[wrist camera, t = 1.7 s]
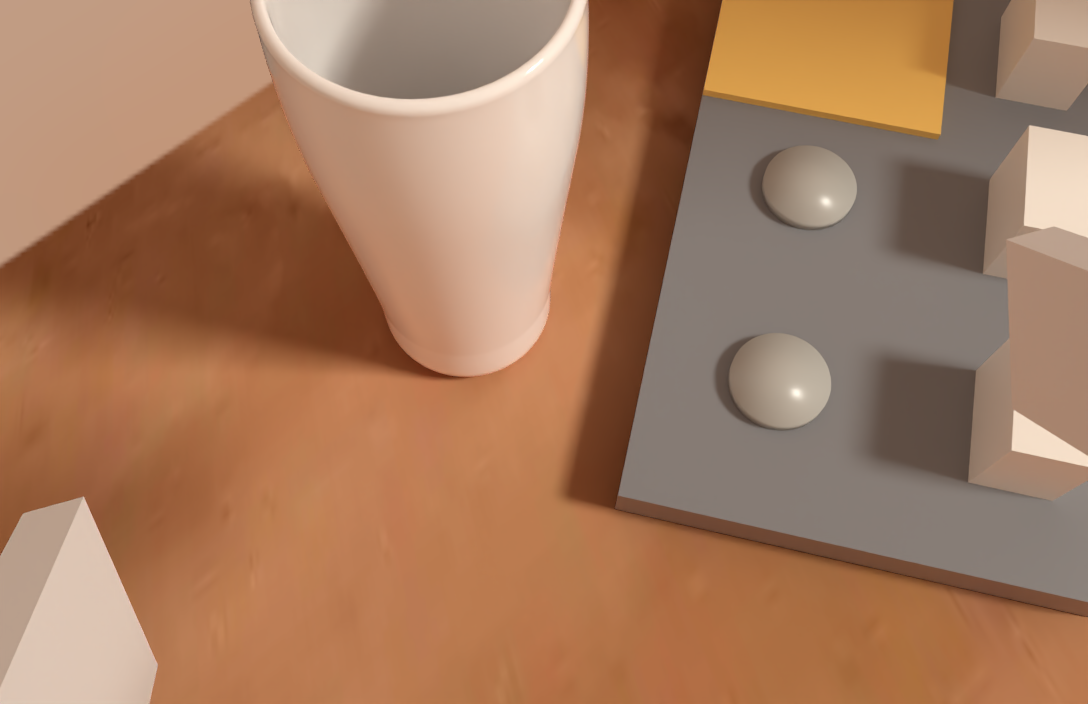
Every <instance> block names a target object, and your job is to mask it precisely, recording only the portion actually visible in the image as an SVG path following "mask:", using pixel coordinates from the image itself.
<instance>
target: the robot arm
mask: <svg viewBox="0 0 1088 704" xmlns="http://www.w3.org/2000/svg"><path fill="white" fill-rule="evenodd" d="M1006 252H1007V282H1008V311H1009V341H1010V371H1011V400H1012V409H1013V410H1015V411H1016V412H1018V413H1020V414H1021V415H1023V416H1024V417H1026V418H1028V419H1029V420H1031V421H1032V422H1034V423H1036V424H1037V425H1039V426H1040V427H1042V428H1044V429H1045V430H1047V431H1049V432H1050V433H1052V434H1053V435H1055V436H1057V437H1058V438H1060V439H1061V440H1063V441H1065V442H1066V443H1068V444H1069V445H1071V446H1073V447H1074V448H1076V449H1077V450H1079V451H1081V452H1082V453H1084V454H1086V455H1087V456H1088V238H1087V237H1084V236H1081V235H1078V234H1075V233H1072V232H1070V231H1067V230H1064V229H1061V228H1058V227H1055V226H1053V227H1049V228H1046V229H1042V230H1038V231H1035V232H1031V233H1028V234H1024V235H1020V236H1017V237H1013V238H1010V239H1006ZM157 667H158V665H157V662H156V660H155V658H154V655H153V653H152V651H151V649H150V646H149V644H148V642H147V640H146V637H145V635H144V633H143V630H142V628H141V626H140V624H139V621H138V619H137V617H136V614H135V612H134V610H133V608H132V605H131V603H130V601H129V599H128V596H127V594H126V592H125V589H124V587H123V585H122V583H121V580H120V578H119V576H118V574H117V571H116V569H115V567H114V564H113V562H112V560H111V558H110V555H109V553H108V551H107V548H106V546H105V544H104V542H103V539H102V537H101V535H100V533H99V530H98V528H97V526H96V523H95V521H94V519H93V517H92V514H91V512H90V510H89V507H88V505H87V503H86V501H85V498H84V497H80V498H77V499H73V500H70V501H66V502H62V503H59V504H55V505H52V506H48V507H44V508H41V509H37V510H34V511H30V512H26V513H23V515H22V516H21V518H20V520H19V522H18V524H17V526H16V528H15V529H14V531H13V533H12V535H11V537H10V539H9V541H8V543H7V544H6V546H5V548H4V550H3V552H2V554H1V556H0V704H149V703H150V698H151V694H152V689H153V685H154V680H155V676H156V671H157Z"/></svg>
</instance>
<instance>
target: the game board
mask: <svg viewBox="0 0 1088 704" xmlns="http://www.w3.org/2000/svg"><path fill="white" fill-rule="evenodd" d="M1053 226H1055V227H1058V228H1061V229H1064V230H1067V231H1070V232H1072V233H1075V234H1078V235H1081V236H1084V237H1087V238H1088V0H722V3H721V7H720V12H719V17H718V22H717V26H716V31H715V36H714V41H713V45H712V50H711V55H710V60H709V64H708V69H707V74H706V78H705V83H704V88H703V93H702V97H701V102H700V107H699V112H698V116H697V121H696V126H695V131H694V135H693V140H692V145H691V150H690V154H689V159H688V164H687V168H686V173H685V178H684V183H683V187H682V192H681V197H680V202H679V206H678V211H677V216H676V221H675V225H674V230H673V235H672V240H671V244H670V249H669V254H668V259H667V263H666V268H665V273H664V277H663V282H662V287H661V292H660V296H659V301H658V306H657V311H656V315H655V320H654V325H653V330H652V334H651V339H650V344H649V349H648V353H647V358H646V363H645V367H644V372H643V377H642V382H641V386H640V391H639V396H638V401H637V405H636V410H635V415H634V420H633V424H632V429H631V434H630V439H629V443H628V448H627V453H626V457H625V462H624V467H623V472H622V476H621V481H620V486H619V491H618V495H617V500H616V505H615V509H617V510H621V511H626V512H630V513H635V514H639V515H643V516H648V517H652V518H656V519H661V520H665V521H670V522H674V523H678V524H683V525H687V526H692V527H696V528H700V529H705V530H709V531H713V532H718V533H722V534H727V535H731V536H735V537H740V538H744V539H749V540H753V541H757V542H762V543H766V544H770V545H775V546H779V547H784V548H788V549H792V550H797V551H801V552H806V553H810V554H814V555H819V556H823V557H827V558H832V559H836V560H841V561H845V562H849V563H854V564H858V565H863V566H867V567H871V568H876V569H880V570H884V571H889V572H893V573H898V574H902V575H906V576H911V577H915V578H920V579H924V580H928V581H933V582H937V583H941V584H946V585H950V586H955V587H959V588H963V589H968V590H972V591H977V592H981V593H985V594H990V595H994V596H998V597H1003V598H1007V599H1012V600H1016V601H1020V602H1025V603H1029V604H1034V605H1038V606H1042V607H1047V608H1051V609H1055V610H1060V611H1064V612H1069V613H1073V614H1077V615H1082V616H1086V617H1088V456H1087V455H1086V454H1084V453H1082V452H1081V451H1079V450H1077V449H1076V448H1074V447H1073V446H1071V445H1069V444H1068V443H1066V442H1065V441H1063V440H1061V439H1060V438H1058V437H1057V436H1055V435H1053V434H1052V433H1050V432H1049V431H1047V430H1045V429H1044V428H1042V427H1040V426H1039V425H1037V424H1036V423H1034V422H1032V421H1031V420H1029V419H1028V418H1026V417H1024V416H1023V415H1021V414H1020V413H1018V412H1016V411H1015V410H1013V409H1012V400H1011V371H1010V341H1009V311H1008V282H1007V252H1006V239H1010V238H1013V237H1017V236H1020V235H1024V234H1028V233H1031V232H1035V231H1038V230H1042V229H1046V228H1049V227H1053Z"/></svg>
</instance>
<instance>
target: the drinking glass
mask: <svg viewBox="0 0 1088 704" xmlns="http://www.w3.org/2000/svg"><path fill="white" fill-rule="evenodd" d="M250 4H251V9H252V14H253V18H254V22H255V25H256V28H257V31H258V34H259V38H260V41H261V45H262V48H263V52H264V55H265V58H266V62H267V65H268V68H269V71H270V75H271V78H272V81H273V84H274V87H275V90H276V93H277V96H278V99H279V102H280V105H281V107H282V110H283V113H284V115H285V118H286V121H287V123H288V126H289V128H290V131H291V133H292V135H293V138H294V140H295V142H296V144H297V147H298V149H299V151H300V153H301V155H302V158H303V160H304V162H305V164H306V166H307V168H308V170H309V172H310V174H311V176H312V178H313V180H314V182H315V184H316V186H317V187H318V189H319V191H320V193H321V195H322V197H323V199H324V200H325V202H326V204H327V206H328V208H329V210H330V211H331V213H332V215H333V217H334V219H335V220H336V222H337V224H338V226H339V228H340V230H341V231H342V233H343V235H344V237H345V239H346V241H347V242H348V244H349V246H350V248H351V250H352V252H353V253H354V255H355V257H356V259H357V261H358V263H359V265H360V266H361V268H362V270H363V272H364V274H365V276H366V278H367V280H368V281H369V283H370V285H371V287H372V289H373V291H374V293H375V295H376V297H377V299H378V301H379V302H380V304H381V306H382V309H383V312H384V315H385V318H386V321H387V324H388V326H389V329H390V331H391V333H392V335H393V337H394V338H395V340H396V342H397V343H398V344H399V345H400V347H401V348H402V349H403V350H404V351H405V352H406V353H407V354H408V355H409V356H410V357H411V358H412V359H414V360H415V361H416V362H418V363H419V364H421V365H423V366H424V367H426V368H428V369H431V370H433V371H435V372H438V373H441V374H446V375H450V376H458V377H473V376H481V375H486V374H490V373H493V372H496V371H499V370H501V369H503V368H506V367H507V366H509V365H511V364H513V363H514V362H516V361H517V360H519V359H520V358H521V357H522V356H523V355H525V354H526V353H527V352H528V351H529V350H530V349H531V347H532V346H533V345H534V344H535V343H536V341H537V340H538V338H539V337H540V335H541V333H542V331H543V329H544V327H545V324H546V322H547V318H548V315H549V310H550V302H551V281H552V275H553V270H554V264H555V259H556V254H557V249H558V244H559V239H560V234H561V229H562V224H563V219H564V214H565V209H566V204H567V200H568V195H569V190H570V185H571V180H572V176H573V171H574V166H575V161H576V156H577V151H578V146H579V140H580V134H581V128H582V121H583V115H584V107H585V99H586V88H587V75H588V53H589V0H250Z"/></svg>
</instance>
